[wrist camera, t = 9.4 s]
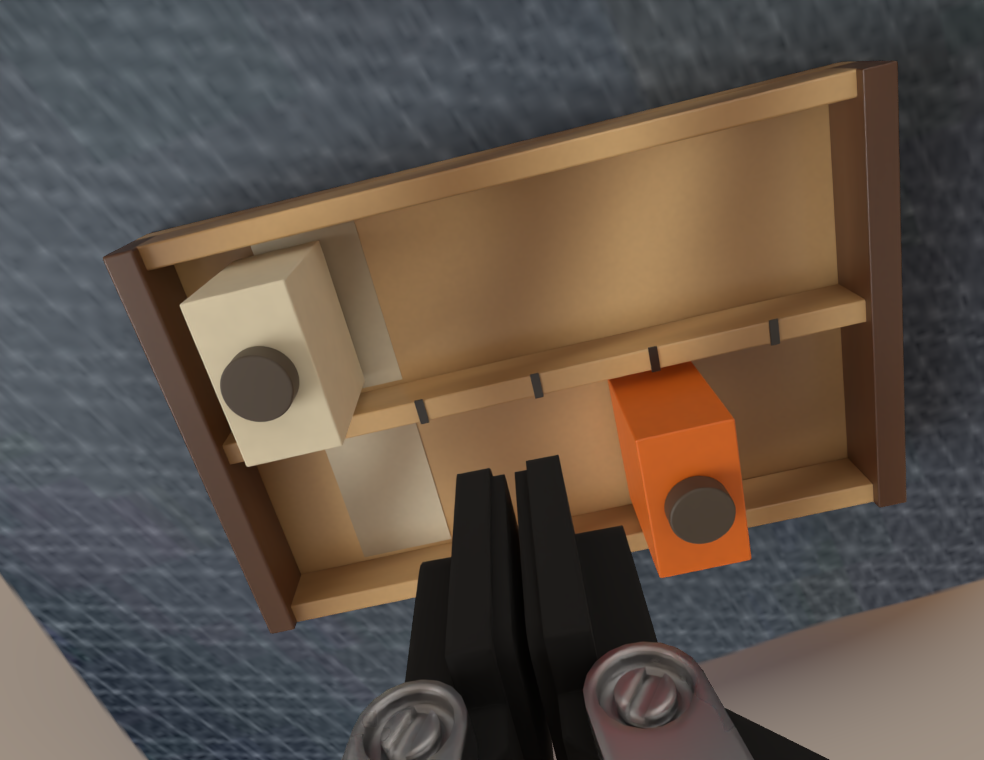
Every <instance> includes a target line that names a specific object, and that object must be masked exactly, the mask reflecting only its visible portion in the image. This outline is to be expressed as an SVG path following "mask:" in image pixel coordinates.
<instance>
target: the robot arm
mask: <svg viewBox="0 0 984 760" xmlns="http://www.w3.org/2000/svg"><path fill="white" fill-rule="evenodd" d="M526 469H527V470H523V471H518V472H515V488H516V501H517V515H518V525H517V521H516V517H515V513H514V509H513V504H512V500H511V496H510V492H509V488H508V484H507V480H506V477H505V474H502V475H497V476H493V474H492V471H491V469H490V468H486V469H481V470H476V471H471V472H466V473H461V474H457V477H456V490H455V505H454V521H453V536H452V551H451V557H448V558H442V559H437V560H431V561H426V562H422V564H421V565H420V569H419V575H418V583H417V591H416V599H415V607H414V615H413V623H412V631H411V639H410V647H409V655H408V663H407V671H406V679H405V683H403V684H400V685H398V686H396V687H393V688H391V689H388V690H387V691H385V692H384V693H383V694H381V695H380V696H378V697H377V698H376V699H374V700H373V701H372V702H371V703H370V704H369V705H368V706H367V708H366V709H365V710H364V711H363V712H362V713H361V714H360V716H359V718H358V720H357V722H356V724H355V726H354V728H353V730H352V733H351V735H350V738H349V741H348V744H347V747H346V749H345V752H344V755H343V758H342V760H554V759H553V748H552V743H553V747H554V751H555V754H556V759H557V760H829V759H827V758H825V757H823V756H821V755H819V754H817V753H815V752H813V751H811V750H809V749H807V748H805V747H803V746H801V745H799V744H797V743H795V742H793V741H791V740H789V739H787V738H785V737H783V736H781V735H778V734H777V733H774V732H773V731H771V730H769V729H766V728H764V727H762V726H760V725H758V724H756V723H754V722H752V721H750V720H748V719H746V718H744V717H742V716H740V715H738V714H736V713H734V712H732V711H730V710H728V709H726V708H724V706H723V705H722V703H721V701H720V700H719V698H718V696H717V694H716V693H715V691H714V689H713V687H712V685H711V684H710V682H709V680H708V678H707V677H706V675H705V673H704V671H703V670H702V669H701V668H700V666H699V665H698V664H697V663H696V661H695V660H694V659H693V658H692V657H691V656H689V655H688V654H686V653H684V652H683V651H681V650H680V649H678V648H676V647H672V646H669V645H666V644H663V643H658V642H657V639H656V635H655V632H654V628H653V625H652V622H651V618H650V615H649V611H648V608H647V605H646V601H645V598H644V595H643V591H642V588H641V584H640V581H639V578H638V574H637V571H636V567H635V564H634V561H633V557H632V554H631V550H630V547H629V544H628V540H627V537H626V534H625V530H624V527H623V526H622V525H621V526H615V527H610V528H604V529H599V530H594V531H588V532H583V533H577V534H575V531H574V526H573V521H572V516H571V512H570V507H569V502H568V497H567V492H566V487H565V483H564V478H563V473H562V468H561V463H560V459H559V455H554V456H548V457H543V458H538V459H533V460H528V461H526Z"/></svg>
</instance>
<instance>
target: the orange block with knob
mask: <svg viewBox="0 0 984 760" xmlns="http://www.w3.org/2000/svg"><path fill="white" fill-rule="evenodd" d="M608 385H609V390H610V395H611V400H612V406H613V411H614V416H615V421H616V427H617V432H618V437H619V443H620V448H621V453H622V458H623V464H624V469H625V474H626V479H627V485H628V490H629V495H630V499H631V501H632V504H633V507H634V509H635V512H636V515H637V518H638V520H639V523H640V526H641V528H642V531H643V534H644V536H645V539H646V542H647V545H648V547H649V550H650V553H651V555H652V558H653V561H654V564H655V566H656V569H657V572H658V574H659V576H660V578H664V577H669V576H674V575H679V574H684V573H688V572H693V571H698V570H703V569H708V568H713V567H718V566H722V565H727V564H732V563H737V562H742V561H747V560H750V559H751V551H750V542H749V534H748V525H747V517H746V509H745V500H744V492H743V484H742V475H741V467H740V459H739V450H738V442H737V433H736V425H735V419H734V418H733V416H732V415H731V414H730V412H729V411H728V410H727V408H726V407H725V406H724V404H723V403H722V402H721V400H720V399H719V398H718V396H717V395H716V394H715V392H714V391H713V390H712V388H711V387H710V386H709V384H708V383H707V382H706V380H705V379H704V378H703V376H702V375H701V374H700V372H699V371H698V370H697V368H696V367H695V366H694V364H693V363H692V362H691V361H689V362H685V363H680V364H676V365H671V366H667V367H662V368H661V371H657V372H653V373H652V371H651V370H649V371H645V372H640V373H636V374H631V375H627V376H622V377H618V378H613V379H609V380H608Z"/></svg>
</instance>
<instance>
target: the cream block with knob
mask: <svg viewBox="0 0 984 760" xmlns="http://www.w3.org/2000/svg"><path fill="white" fill-rule="evenodd" d="M180 308H181V311H182V313H183V315H184V318H185V320H186V322H187V325H188V327H189V330H190V332H191V334H192V337H193V339H194V342H195V344H196V346H197V349H198V351H199V354H200V356H201V358H202V361H203V363H204V366H205V368H206V370H207V373H208V375H209V378H210V380H211V382H212V385H213V387H214V390H215V392H216V394H217V397H218V399H219V402H220V404H221V406H222V409H223V411H224V414H225V416H226V418H227V421H228V423H229V425H230V428H231V430H232V433H233V435H234V437H235V440H236V442H237V445H238V447H239V449H240V452H241V454H242V457H243V459H244V461H245V464H246V466H247V467H250V466H254V465H259V464H263V463H268V462H272V461H277V460H281V459H286V458H290V457H295V456H299V455H303V454H308V453H312V452H317V451H321V450H326V449H330V448H335V447H339V446H342V445H343V443H344V440H345V437H346V434H347V431H348V428H349V425H350V422H351V420H352V417H353V414H354V411H355V408H356V405H357V402H358V399H359V396H360V393H361V390H362V387H363V384H364V382H365V379H364V376H363V373H362V370H361V367H360V364H359V361H358V358H357V355H356V351H355V348H354V345H353V342H352V339H351V336H350V333H349V330H348V327H347V324H346V321H345V318H344V315H343V312H342V309H341V306H340V303H339V300H338V297H337V294H336V291H335V288H334V285H333V282H332V279H331V275H330V272H329V269H328V266H327V263H326V260H325V257H324V254H323V251H322V248H321V245H320V242H319V241H313V242H308V243H304V244H300V245H296V246H292V247H288V248H284V249H280V250H276V251H272V252H267V253H263V254H259V255H255V256H251V257H247V258H243V259H239V260H235V261H233V262H232V263H230V264H229V265H228V266H227V267H226V268H224V269H223V270H222V271H221V272H219V273H218V274H217V275H216V276H214V277H213V278H212V279H211V280H209V281H208V282H207V283H206V284H205V285H203V286H202V287H201V288H200V289H198V290H197V291H196V292H195V293H193V294H192V295H191V296H190V297H188V298H187V299H186V300H185V301H184V302H182V303H181V304H180Z"/></svg>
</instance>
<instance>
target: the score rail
mask: <svg viewBox="0 0 984 760" xmlns="http://www.w3.org/2000/svg"><path fill="white" fill-rule="evenodd" d="M313 241H319V242H320V245H321V248H322V251H323V254H324V257H325V260H326V263H327V266H328V269H329V272H330V275H331V279H332V282H333V285H334V288H335V291H336V294H337V297H338V300H339V303H340V306H341V309H342V312H343V315H344V318H345V321H346V324H347V327H348V330H349V333H350V336H351V339H352V342H353V345H354V348H355V351H356V355H357V358H358V361H359V364H360V367H361V370H362V373H363V376H364V379H365V382H364V384H363V387H362V390H361V393H360V396H359V399H358V402H357V405H356V408H355V411H354V414H353V417H352V420H351V422H350V425H349V428H348V431H347V434H346V437H345V440H344V443H343V445H342V446H339V447H335V448H330V449H326V450H321V451H317V452H312V453H308V454H303V455H299V456H295V457H290V458H286V459H281V460H277V461H272V462H268V463H263V464H259V465H254V466H250V467H247V466H246V464H245V461H244V459H243V457H242V454H241V452H240V449H239V447H238V445H237V442H236V440H235V437H234V435H233V433H232V430H231V428H230V425H229V423H228V421H227V418H226V416H225V414H224V411H223V409H222V406H221V404H220V402H219V399H218V397H217V394H216V392H215V390H214V387H213V385H212V382H211V380H210V378H209V375H208V373H207V370H206V368H205V366H204V363H203V361H202V358H201V356H200V354H199V351H198V349H197V346H196V344H195V342H194V339H193V337H192V334H191V332H190V330H189V327H188V325H187V322H186V320H185V318H184V315H183V313H182V311H181V308H180V304H181V303H182V302H184V301H185V300H186V299H187V298H188V297H190V296H191V295H192V294H193V293H195V292H196V291H197V290H198V289H200V288H201V287H202V286H203V285H205V284H206V283H207V282H208V281H209V280H211V279H212V278H213V277H214V276H216V275H217V274H218V273H219V272H221V271H222V270H223V269H224V268H226V267H227V266H228V265H229V264H230V263H232V262H233V261H235V260H239V259H243V258H247V257H251V256H255V255H259V254H263V253H267V252H272V251H276V250H280V249H284V248H288V247H292V246H296V245H300V244H304V243H308V242H313ZM103 261H104V263H105V265H106V267H107V269H108V272H109V274H110V276H111V278H112V281H113V283H114V285H115V287H116V290H117V292H118V294H119V296H120V299H121V301H122V303H123V305H124V307H125V310H126V312H127V314H128V316H129V319H130V321H131V323H132V325H133V328H134V330H135V332H136V334H137V336H138V339H139V341H140V343H141V345H142V348H143V350H144V352H145V354H146V357H147V359H148V361H149V363H150V365H151V368H152V370H153V372H154V374H155V377H156V379H157V381H158V383H159V386H160V388H161V390H162V392H163V394H164V397H165V399H166V401H167V403H168V406H169V408H170V410H171V412H172V415H173V417H174V419H175V421H176V423H177V426H178V428H179V430H180V432H181V435H182V437H183V439H184V441H185V444H186V446H187V448H188V450H189V452H190V455H191V457H192V459H193V461H194V464H195V466H196V468H197V470H198V473H199V475H200V477H201V479H202V481H203V484H204V486H205V488H206V490H207V493H208V495H209V497H210V499H211V502H212V504H213V506H214V508H215V510H216V513H217V515H218V517H219V519H220V522H221V524H222V526H223V528H224V531H225V533H226V535H227V537H228V539H229V542H230V544H231V546H232V548H233V551H234V553H235V555H236V557H237V560H238V562H239V564H240V566H241V568H242V571H243V573H244V575H245V577H246V580H247V582H248V584H249V586H250V589H251V591H252V593H253V595H254V597H255V600H256V602H257V604H258V606H259V609H260V611H261V613H262V615H263V618H264V620H265V622H266V624H267V626H268V629H269V631H270V633H272V634H273V633H278V632H282V631H287V630H292V629H294V628H295V626H296V623H297V622H299V621H304V620H309V619H314V618H318V617H323V616H328V615H333V614H337V613H342V612H347V611H352V610H357V609H361V608H366V607H371V606H376V605H381V604H385V603H390V602H395V601H400V600H405V599H409V598H414V597H416V591H417V583H418V575H419V569H420V565H421V564H422V562H426V561H431V560H437V559H442V558H448V557H451V551H452V536H453V521H454V505H455V490H456V477H457V474H461V473H466V472H471V471H476V470H481V469H486V468H490V469H491V471H492V474H493V476H497V475H502V474H505V477H506V480H507V484H508V488H509V492H510V496H511V500H512V504H513V509H514V513H515V517H516V521H517V525H518V515H517V501H516V488H515V472H518V471H523V470H527V469H526V461H528V460H533V459H538V458H543V457H548V456H554V455H559V459H560V463H561V468H562V473H563V478H564V483H565V487H566V492H567V497H568V502H569V507H570V512H571V516H572V521H573V526H574V531H575V534H577V533H583V532H588V531H594V530H599V529H604V528H610V527H615V526H621V525H622V526H623V527H624V530H625V534H626V537H627V540H628V544H629V547H630V550H631V552H634V551H639V550H644V549H649V547H648V545H647V542H646V539H645V536H644V534H643V531H642V528H641V526H640V523H639V520H638V518H637V515H636V512H635V509H634V507H633V504H632V501H631V499H630V495H629V490H628V485H627V479H626V474H625V469H624V464H623V458H622V453H621V448H620V443H619V437H618V432H617V427H616V421H615V416H614V411H613V406H612V400H611V395H610V390H609V385H608V380H609V379H613V378H618V377H622V376H627V375H631V374H636V373H640V372H645V371H649V370H651V371H652V373H653V372H657V371H661V368H662V367H667V366H671V365H676V364H680V363H685V362H689V361H691V362H692V363H693V364H694V366H695V367H696V368H697V370H698V371H699V372H700V374H701V375H702V376H703V378H704V379H705V380H706V382H707V383H708V384H709V386H710V387H711V388H712V390H713V391H714V392H715V394H716V395H717V396H718V398H719V399H720V400H721V402H722V403H723V404H724V406H725V407H726V408H727V410H728V411H729V412H730V414H731V415H732V416H733V418H734V419H735V425H736V433H737V442H738V450H739V459H740V467H741V475H742V484H743V492H744V500H745V509H746V517H747V525H748V528H749V527H754V526H759V525H764V524H768V523H773V522H778V521H783V520H788V519H792V518H797V517H802V516H807V515H811V514H816V513H821V512H826V511H831V510H835V509H840V508H845V507H850V506H855V505H859V504H864V503H869V502H875V504H876V505H877V506H878V507H884V506H889V505H894V504H899V503H904V502H906V461H905V410H904V360H903V310H902V259H901V209H900V159H899V108H898V62H897V61H856V62H839V63H835V64H831V65H827V66H823V67H819V68H814V69H810V70H806V71H802V72H798V73H794V74H790V75H786V76H782V77H778V78H774V79H770V80H766V81H762V82H758V83H754V84H750V85H746V86H742V87H738V88H734V89H730V90H726V91H722V92H718V93H714V94H710V95H706V96H702V97H698V98H694V99H690V100H686V101H682V102H678V103H674V104H670V105H665V106H661V107H657V108H653V109H649V110H645V111H641V112H637V113H633V114H629V115H625V116H621V117H617V118H613V119H609V120H605V121H601V122H597V123H593V124H589V125H585V126H581V127H577V128H573V129H569V130H565V131H561V132H557V133H553V134H549V135H545V136H541V137H537V138H533V139H529V140H525V141H520V142H516V143H512V144H508V145H504V146H500V147H496V148H492V149H488V150H484V151H480V152H476V153H472V154H468V155H464V156H460V157H456V158H452V159H448V160H444V161H440V162H436V163H432V164H428V165H424V166H420V167H416V168H412V169H408V170H404V171H400V172H396V173H392V174H388V175H384V176H380V177H376V178H371V179H367V180H363V181H359V182H355V183H351V184H347V185H343V186H339V187H335V188H331V189H327V190H323V191H319V192H315V193H311V194H307V195H303V196H299V197H295V198H291V199H287V200H283V201H279V202H275V203H271V204H267V205H263V206H259V207H255V208H251V209H247V210H243V211H239V212H235V213H231V214H227V215H222V216H218V217H214V218H210V219H206V220H202V221H198V222H194V223H190V224H186V225H182V226H178V227H174V228H170V229H166V230H162V231H158V232H154V233H150V234H147V235H145V236H143V237H141V238H139V239H137V240H135V241H133V242H131V243H129V244H127V245H125V246H123V247H121V248H119V249H117V250H115V251H114V252H112V253H110V254H108V255H106V256H104V257H103Z"/></svg>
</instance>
